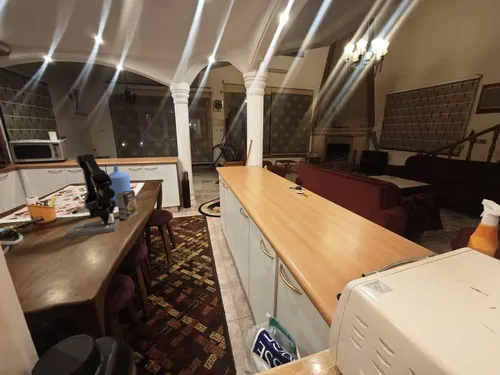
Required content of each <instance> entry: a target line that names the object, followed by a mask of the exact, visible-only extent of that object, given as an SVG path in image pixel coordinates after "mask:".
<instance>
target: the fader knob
mask: <svg viewBox="0 0 500 375" xmlns="http://www.w3.org/2000/svg"><path fill="white" fill-rule="evenodd" d="M114 219H115V218H114V212H113V213H112V214H110V216H109V220H108V224H110V223H113V221H114ZM101 221H102V220H101ZM102 224H104V222H103V221H102Z"/></svg>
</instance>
